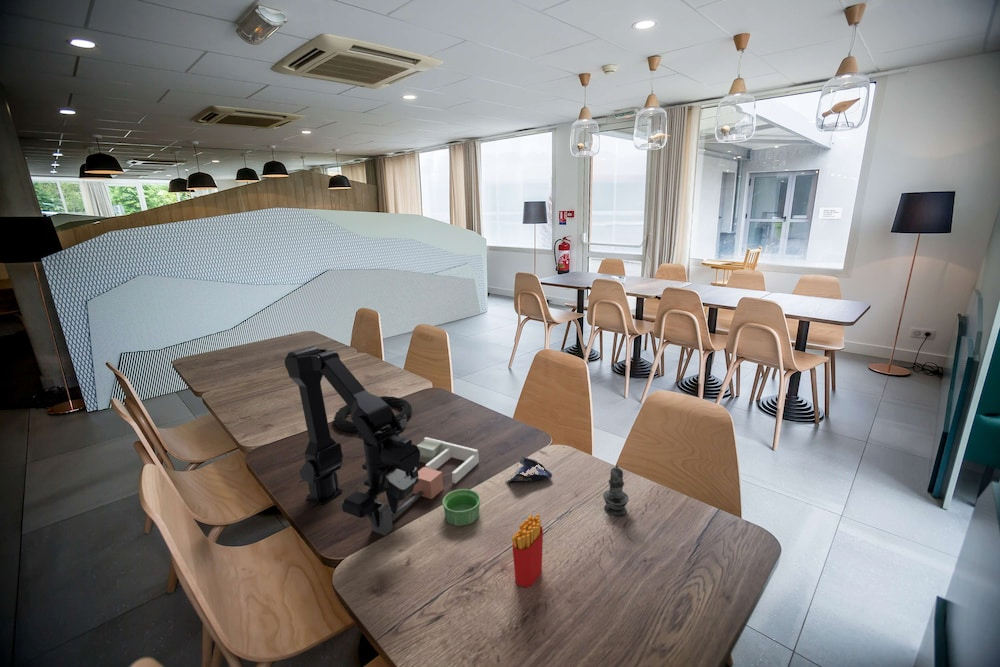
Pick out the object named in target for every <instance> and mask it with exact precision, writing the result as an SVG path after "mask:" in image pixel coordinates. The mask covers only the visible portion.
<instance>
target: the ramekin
mask: <svg viewBox="0 0 1000 667" xmlns="http://www.w3.org/2000/svg"><path fill="white" fill-rule="evenodd" d="M480 504H481V496H480V495H479V493H478V492H476V491H474V490H472V489H467V488H460V489H455V490H452V491H450V492H448V493H447V494H446V495H445V496H444V497H443V498H442V508H443V511H444V516H445V519H447V520H448V521H447V520H446V521H447V522H448V523H449V522H450V523H449V524H451V523H452V524H451V525H453V524H454V525H453V526H456V525H460V526H459V527H463V526H462V525H465V526H468V524H469V525H471V524H473V523H474V522H476V521H477V520H478V518H479V515H480ZM476 519H477V520H476ZM475 520H476V521H475ZM470 523H471V524H470Z"/></svg>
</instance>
